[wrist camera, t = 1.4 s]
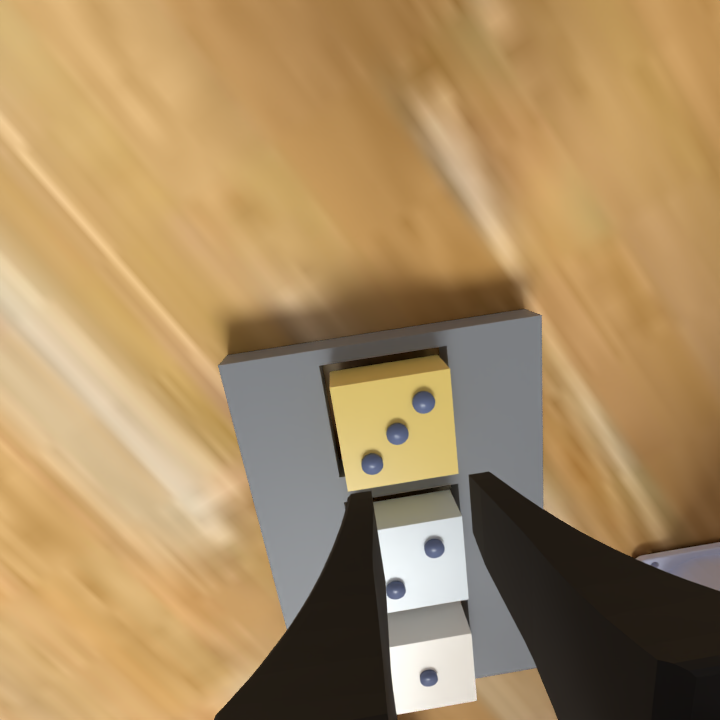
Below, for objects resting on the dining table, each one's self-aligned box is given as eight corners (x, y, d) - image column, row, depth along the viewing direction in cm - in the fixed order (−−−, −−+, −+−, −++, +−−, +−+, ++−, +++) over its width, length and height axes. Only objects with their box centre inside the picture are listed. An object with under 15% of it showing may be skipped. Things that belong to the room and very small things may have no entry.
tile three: (437, 354, 18) (451, 370, 16) (446, 450, 19) (459, 476, 17) (329, 371, 18) (329, 389, 16) (346, 466, 19) (348, 494, 17)
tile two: (449, 489, 20) (463, 519, 18) (456, 566, 21) (470, 602, 19) (353, 505, 20) (355, 537, 18) (366, 582, 21) (370, 619, 19)
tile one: (459, 599, 22) (472, 637, 20) (465, 662, 23) (478, 704, 21) (372, 613, 22) (376, 653, 20) (383, 676, 23) (388, 720, 21)
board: (524, 308, 19) (541, 315, 17) (531, 640, 25) (544, 666, 24) (227, 355, 19) (218, 365, 17) (308, 679, 25) (307, 707, 23)
